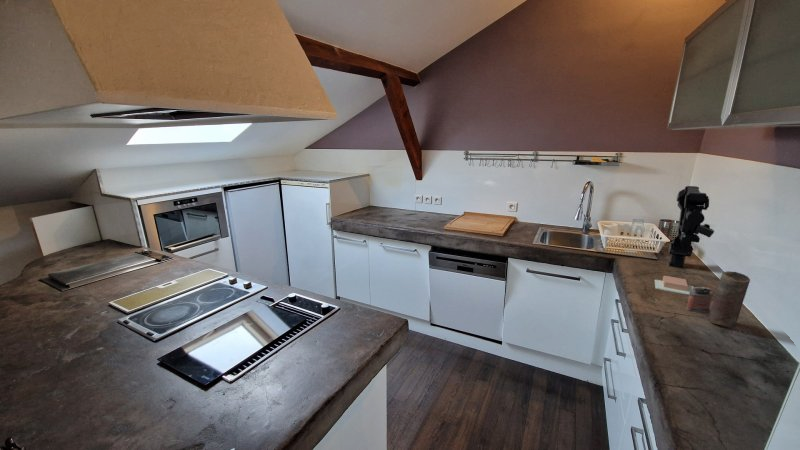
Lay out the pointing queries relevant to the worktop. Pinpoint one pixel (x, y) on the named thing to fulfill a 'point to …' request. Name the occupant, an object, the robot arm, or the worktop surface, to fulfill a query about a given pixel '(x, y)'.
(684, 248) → the robot arm
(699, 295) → the lighter
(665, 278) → the block
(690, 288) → the mat
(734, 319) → the rusty brown metal cylinder
